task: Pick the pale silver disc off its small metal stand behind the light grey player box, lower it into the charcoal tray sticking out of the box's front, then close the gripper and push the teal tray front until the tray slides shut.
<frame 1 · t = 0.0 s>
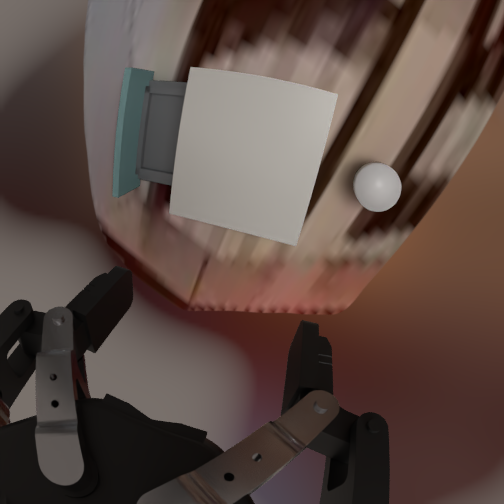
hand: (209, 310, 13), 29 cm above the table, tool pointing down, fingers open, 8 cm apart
tray: (178, 137, 34), point 4 cm above the table, slide at 8.0 cm
housing: (256, 147, 37), on the table
disc: (375, 185, 33), point 3 cm above the table, touching stand
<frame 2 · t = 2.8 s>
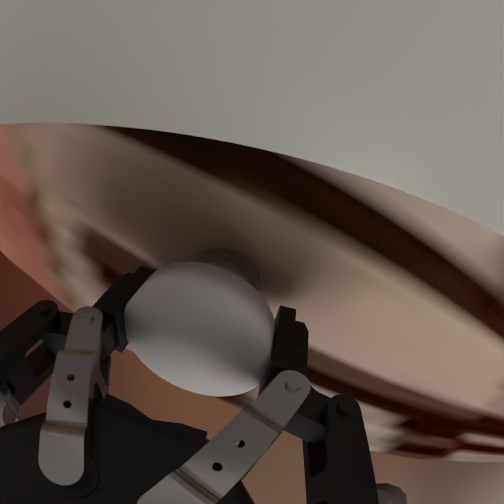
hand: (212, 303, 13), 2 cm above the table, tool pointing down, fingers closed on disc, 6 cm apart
headphones: (373, 487, 29), on the table
stand: (224, 279, 15), on the table
disc: (203, 324, 12), point 4 cm above the table, touching gripper, stand
when the fingers open (3 cm above the table, at t = 9.0 s): disc drops 2 cm, resting on tray.
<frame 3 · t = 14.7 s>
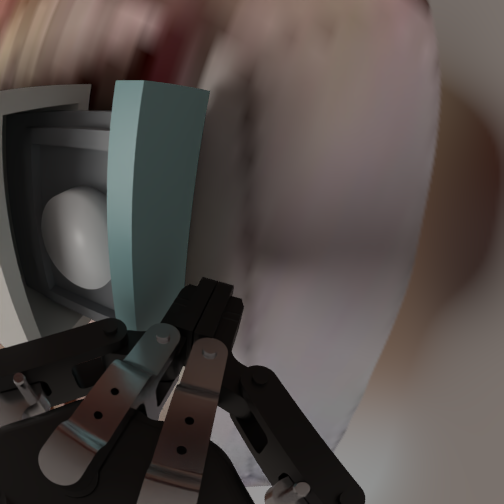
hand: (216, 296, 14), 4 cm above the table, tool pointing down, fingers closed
tray: (51, 244, 14), point 4 cm above the table, slide at 7.1 cm, touching disc, gripper
housing: (22, 198, 18), on the table
disc: (89, 233, 15), point 2 cm above the table, touching tray
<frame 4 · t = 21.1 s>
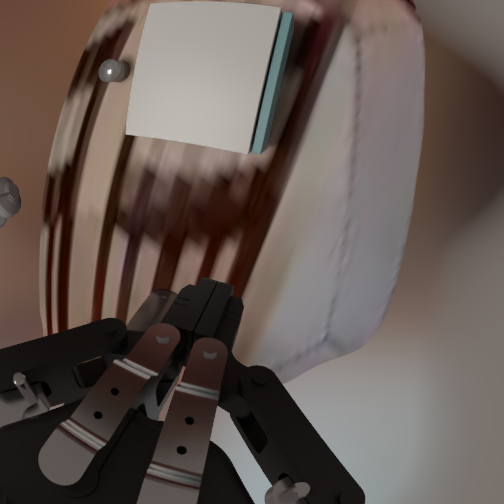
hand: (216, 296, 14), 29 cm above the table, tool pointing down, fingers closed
tray: (216, 73, 30), point 4 cm above the table, slide at 0.0 cm, touching disc
headphones: (14, 196, 49), on the table
housing: (214, 75, 34), on the table
stand: (120, 71, 35), on the table
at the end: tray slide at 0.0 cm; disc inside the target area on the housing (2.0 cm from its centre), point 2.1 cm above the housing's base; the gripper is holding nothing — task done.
